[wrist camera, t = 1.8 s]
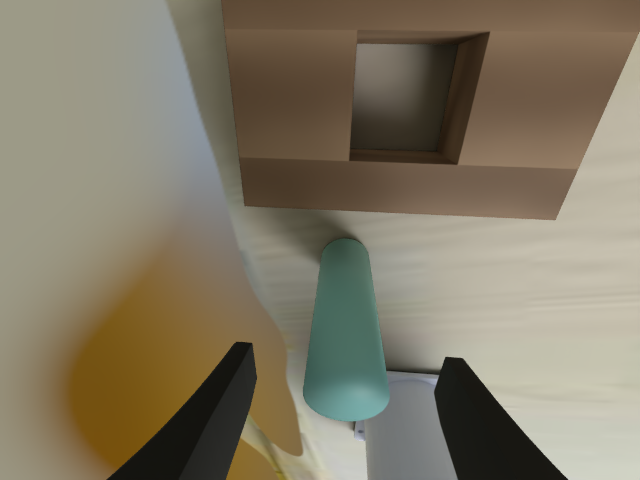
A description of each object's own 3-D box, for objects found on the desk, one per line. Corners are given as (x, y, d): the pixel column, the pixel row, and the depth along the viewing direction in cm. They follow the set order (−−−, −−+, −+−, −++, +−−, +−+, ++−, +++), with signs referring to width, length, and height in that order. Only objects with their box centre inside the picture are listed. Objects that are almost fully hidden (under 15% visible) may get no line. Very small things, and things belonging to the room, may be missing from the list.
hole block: (518, 197, 15) (555, 220, 12) (261, 187, 16) (244, 206, 13) (598, -25, 11) (681, -63, 8) (244, -24, 12) (214, -58, 9)
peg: (366, 280, 18) (383, 424, 10) (320, 277, 18) (303, 417, 11) (371, 239, 17) (395, 370, 9) (321, 237, 17) (302, 363, 9)
